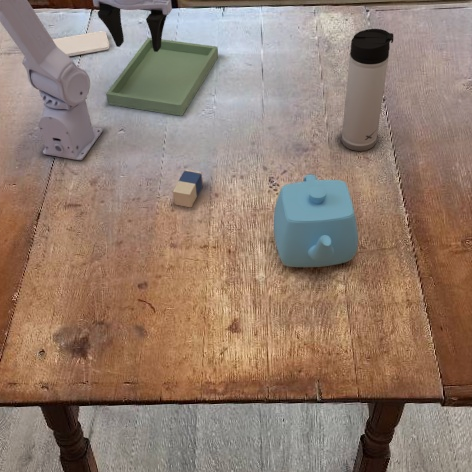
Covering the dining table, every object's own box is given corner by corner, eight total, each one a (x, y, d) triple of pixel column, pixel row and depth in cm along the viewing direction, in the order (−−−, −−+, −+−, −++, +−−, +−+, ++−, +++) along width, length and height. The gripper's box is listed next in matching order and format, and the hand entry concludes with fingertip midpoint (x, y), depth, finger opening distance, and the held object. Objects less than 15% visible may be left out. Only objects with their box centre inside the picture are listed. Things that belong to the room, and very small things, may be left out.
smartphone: (37, 41, 148) (105, 30, 150) (38, 45, 149) (106, 33, 150) (39, 58, 144) (109, 46, 145) (40, 62, 144) (110, 49, 146)
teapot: (282, 300, 100) (283, 244, 91) (269, 217, 112) (269, 160, 102) (365, 293, 101) (374, 237, 92) (344, 211, 112) (350, 154, 103)
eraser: (191, 207, 114) (189, 194, 112) (174, 204, 115) (172, 191, 112) (203, 185, 117) (202, 171, 115) (186, 182, 118) (185, 168, 116)
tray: (182, 116, 130) (180, 105, 128) (108, 104, 133) (105, 93, 132) (218, 57, 143) (217, 46, 141) (149, 48, 146) (148, 37, 144)
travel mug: (376, 153, 121) (392, 46, 105) (339, 149, 122) (349, 43, 106) (379, 132, 124) (395, 26, 109) (343, 129, 125) (353, 23, 110)
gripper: (174, -35, 118) (181, 40, 129) (98, -43, 121) (112, 31, 132) (159, -17, 114) (168, 59, 125) (81, -25, 117) (97, 50, 128)
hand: (138, 46), depth 128 cm, fingers open, 7 cm apart
